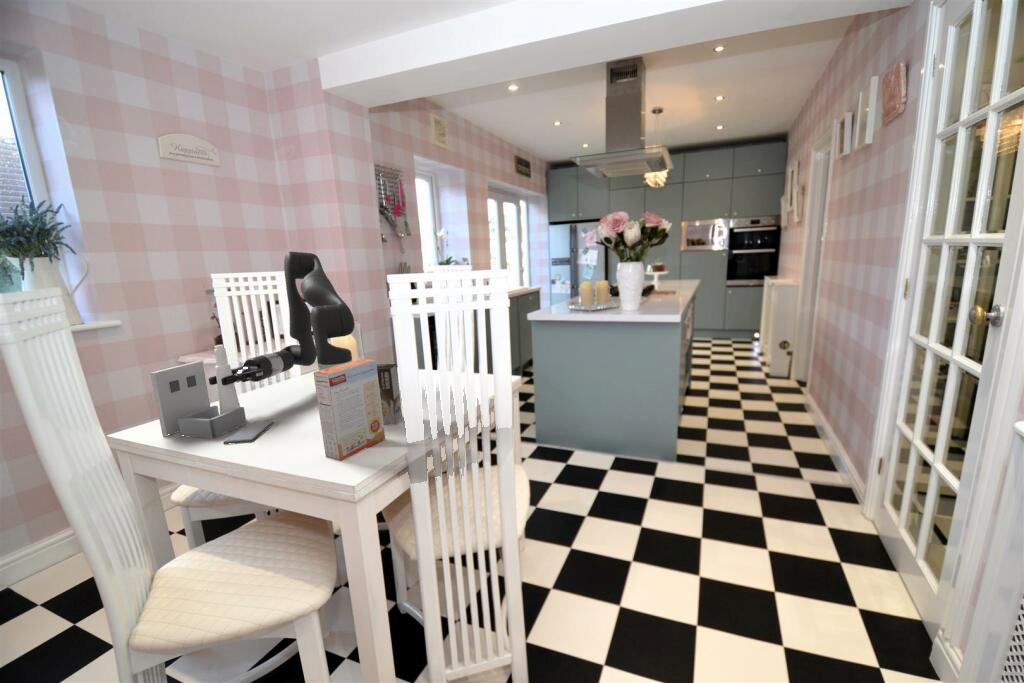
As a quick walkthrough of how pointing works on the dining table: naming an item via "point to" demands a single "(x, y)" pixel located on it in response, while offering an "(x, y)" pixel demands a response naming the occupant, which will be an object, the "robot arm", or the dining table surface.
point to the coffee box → (389, 393)
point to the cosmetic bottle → (226, 392)
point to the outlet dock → (190, 403)
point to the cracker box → (349, 407)
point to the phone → (249, 432)
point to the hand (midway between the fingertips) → (216, 381)
